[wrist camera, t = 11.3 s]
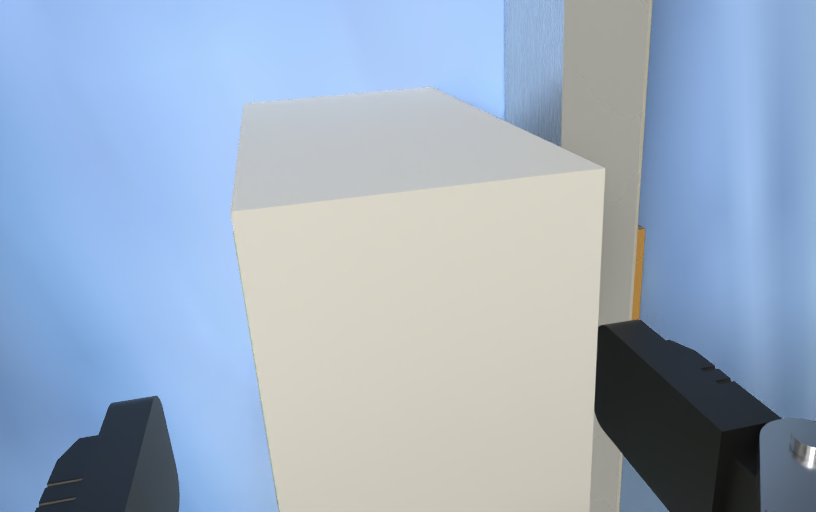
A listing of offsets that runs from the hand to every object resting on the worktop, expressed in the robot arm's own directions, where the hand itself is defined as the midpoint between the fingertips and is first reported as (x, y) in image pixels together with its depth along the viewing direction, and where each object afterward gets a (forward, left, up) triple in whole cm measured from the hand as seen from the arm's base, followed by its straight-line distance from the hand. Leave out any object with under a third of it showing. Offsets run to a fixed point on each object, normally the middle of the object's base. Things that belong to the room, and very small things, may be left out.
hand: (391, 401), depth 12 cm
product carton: (0, 0, -4) cm, 4 cm away
